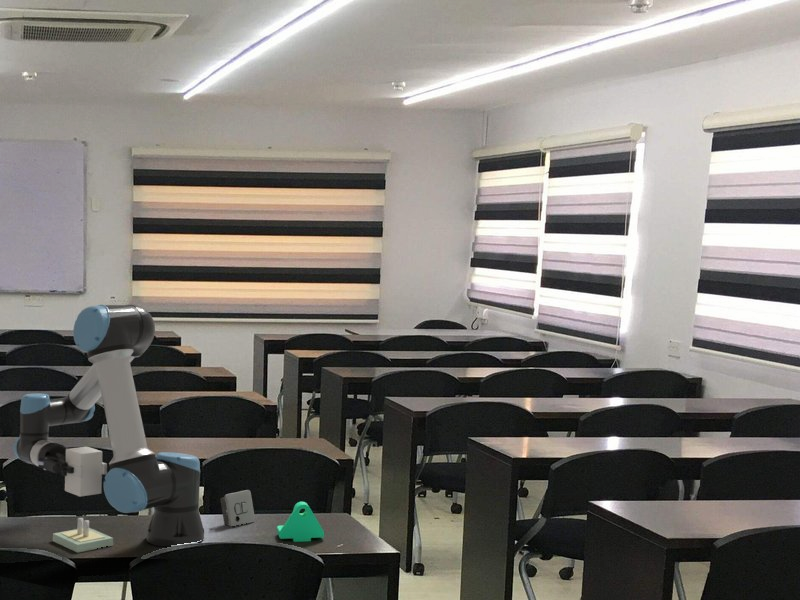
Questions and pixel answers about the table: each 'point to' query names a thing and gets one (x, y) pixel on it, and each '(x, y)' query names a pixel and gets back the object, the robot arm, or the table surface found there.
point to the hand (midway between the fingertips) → (93, 470)
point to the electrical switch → (237, 508)
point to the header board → (82, 538)
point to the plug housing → (84, 471)
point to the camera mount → (301, 525)
